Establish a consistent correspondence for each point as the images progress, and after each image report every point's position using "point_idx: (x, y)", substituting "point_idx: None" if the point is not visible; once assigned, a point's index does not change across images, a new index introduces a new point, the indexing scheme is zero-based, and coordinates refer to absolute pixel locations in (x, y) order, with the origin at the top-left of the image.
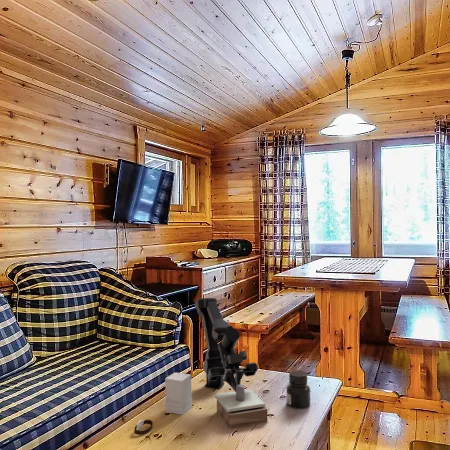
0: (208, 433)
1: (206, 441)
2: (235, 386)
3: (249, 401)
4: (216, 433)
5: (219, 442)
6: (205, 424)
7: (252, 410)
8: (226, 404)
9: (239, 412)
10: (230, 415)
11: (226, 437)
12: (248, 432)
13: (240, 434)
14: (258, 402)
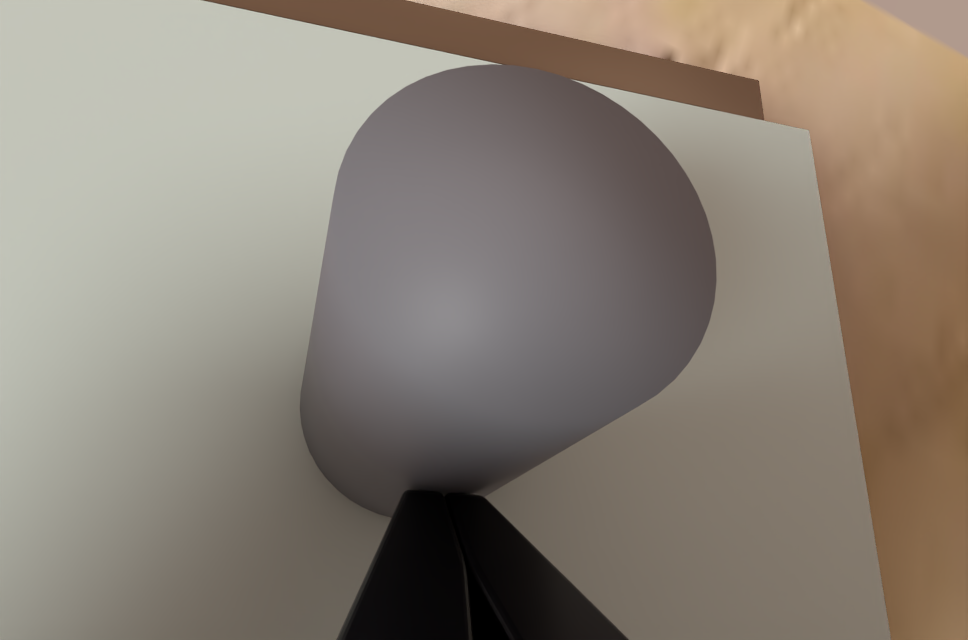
0: (898, 213)
1: (927, 92)
2: (590, 630)
3: (245, 211)
4: (820, 171)
5: (819, 18)
6: (914, 431)
7: (332, 22)
8: (787, 317)
9: (583, 79)
10: (742, 79)
11: (739, 54)
12: (481, 13)
13: (583, 26)
14: (66, 65)
